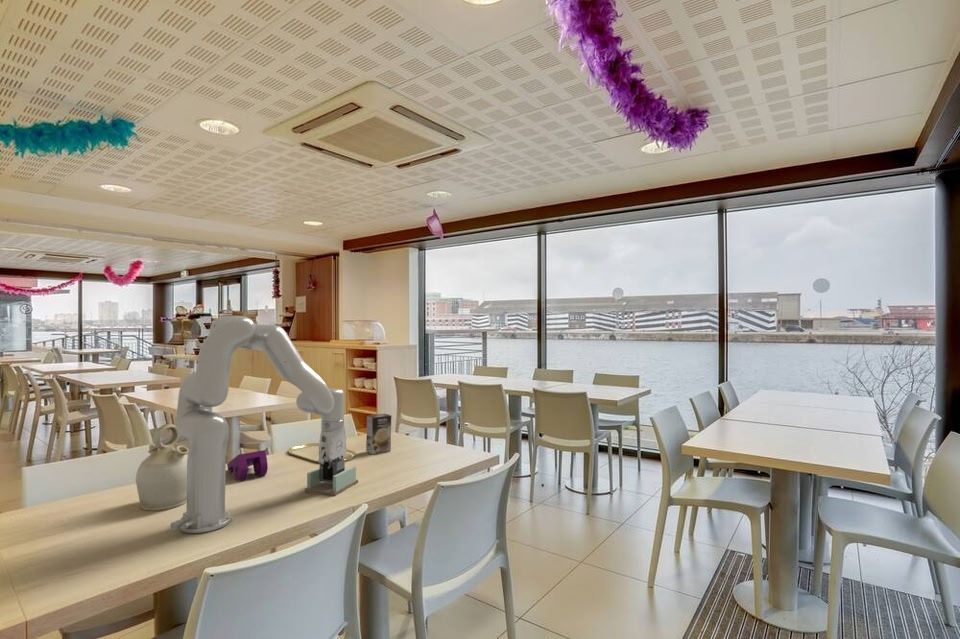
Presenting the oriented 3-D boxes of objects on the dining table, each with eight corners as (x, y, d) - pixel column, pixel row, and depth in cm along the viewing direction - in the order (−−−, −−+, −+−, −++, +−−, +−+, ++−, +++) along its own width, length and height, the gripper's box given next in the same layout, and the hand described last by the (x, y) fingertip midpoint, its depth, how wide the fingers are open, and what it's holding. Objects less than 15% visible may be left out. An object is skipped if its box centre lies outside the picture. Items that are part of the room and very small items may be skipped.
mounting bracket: (226, 488, 183) (241, 478, 171) (224, 466, 185) (238, 454, 174) (252, 483, 189) (268, 472, 178) (249, 461, 192) (265, 449, 180)
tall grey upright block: (336, 483, 165) (337, 462, 165) (319, 481, 167) (319, 460, 167) (344, 479, 169) (344, 459, 169) (327, 477, 171) (327, 457, 171)
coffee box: (372, 455, 209) (372, 417, 209) (365, 451, 214) (366, 415, 214) (391, 451, 215) (391, 415, 215) (384, 448, 220) (384, 413, 220)
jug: (203, 501, 154) (204, 422, 154) (148, 517, 141) (149, 431, 141) (180, 491, 162) (181, 417, 162) (126, 505, 150) (127, 425, 150)
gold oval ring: (326, 468, 191) (327, 464, 191) (279, 452, 212) (279, 449, 212) (364, 457, 206) (365, 454, 206) (317, 444, 227) (317, 441, 227)
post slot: (334, 495, 159) (335, 477, 159) (304, 491, 163) (304, 473, 163) (358, 482, 173) (358, 465, 173) (329, 479, 176) (329, 462, 176)
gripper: (327, 430, 159) (326, 486, 159) (355, 420, 175) (354, 471, 175) (307, 428, 161) (307, 483, 161) (337, 419, 177) (336, 469, 177)
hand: (331, 476), depth 168 cm, fingers closed on tall grey upright block, 4 cm apart
